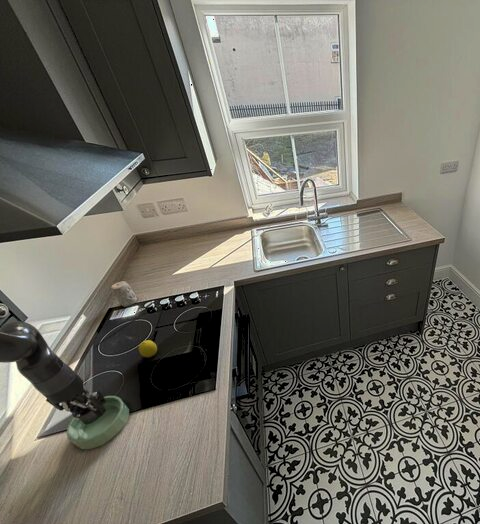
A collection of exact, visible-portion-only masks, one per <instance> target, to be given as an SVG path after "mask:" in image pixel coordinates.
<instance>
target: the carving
mask: <svg viewBox="0 0 480 524" xmlns="http://www.w3.org/2000/svg"><path fill="white" fill-rule="evenodd" d="M110 289H111V291H112V293H113V294H114V296H115V298H116V300H117V302H118V303H119V304H120V305H121V306H122V307H124V308H126V307H130V306H132V305H134V304H135V303H136V302H137V296H136V294H135V293H134V291H133V289H132V287H131V286H130V284H129V283H128V282H127V281H125V280H123V281H122V280H121V281H118V282H116V283H114V284H112V285H111V287H110Z"/></svg>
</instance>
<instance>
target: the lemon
mask: <svg viewBox="0 0 480 524" xmlns="http://www.w3.org/2000/svg"><path fill="white" fill-rule="evenodd" d="M138 351H139V354H140V355H141V356H142V357H144V358H151V357H153V356H155V355H156V354H157V352H158V346H157V344H156V343H155V342H154V341H153V340H150V339H148V340H144V341H142V342H140V344H139V345H138Z"/></svg>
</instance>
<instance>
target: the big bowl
mask: <svg viewBox="0 0 480 524" xmlns="http://www.w3.org/2000/svg"><path fill="white" fill-rule="evenodd" d="M103 397H104V398H105V400H106V402H105V403H104V405H103V406H104V408H105V409H106V411H105V413H104V414H103V416H101V417H100V418H99V419H97V420H96V421H95V422H93V423H90V424H87V425H83V424H81V423H80V422H79V421H77V420H76V419H75V418H74V417H73V418H72V420H71V421H70V423H69V424H68V426H67V430H66V437H67V439H68V441H69V442H71V443H72V444H73V445H74V446H76V447H77V448H79V449H81V450H92V449H96V448H98V447H100V446H103V445H104V444H106V443H108V442H109V441H111V440H112V439H113V438H115V436H117V435H118V434H119V433H120V432H121V431H122V429H123V428H124V427H125V426H126V424H127V422H128V420H129V417H130V408H129V407H128V405H127V404H126V403H125V402H124V400H123V399H122V398H120V397H118V396H116V395H106V396H103Z"/></svg>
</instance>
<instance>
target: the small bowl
mask: <svg viewBox="0 0 480 524" xmlns="http://www.w3.org/2000/svg"><path fill="white" fill-rule="evenodd" d="M88 400H89V398H88V399H87V400H86V402H85V403H84V404H86V403H87V402H88ZM91 405H92V406H94V405H93V403H91ZM103 407H104V406H103ZM71 416H72V417H73V418H75V419H76V420H77V421H79V422H80V423H81V424H83V425H87V424H90V423H93V422H95V421H96V420H97V419H99V418H100V417H101V416H100V417H99V416H98V415H96V414H95V413H94V412H93V410H91V409H89V408H82V407H80V406H78V405H77V406H76V407H75V409H74V410H73V413H71Z"/></svg>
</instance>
